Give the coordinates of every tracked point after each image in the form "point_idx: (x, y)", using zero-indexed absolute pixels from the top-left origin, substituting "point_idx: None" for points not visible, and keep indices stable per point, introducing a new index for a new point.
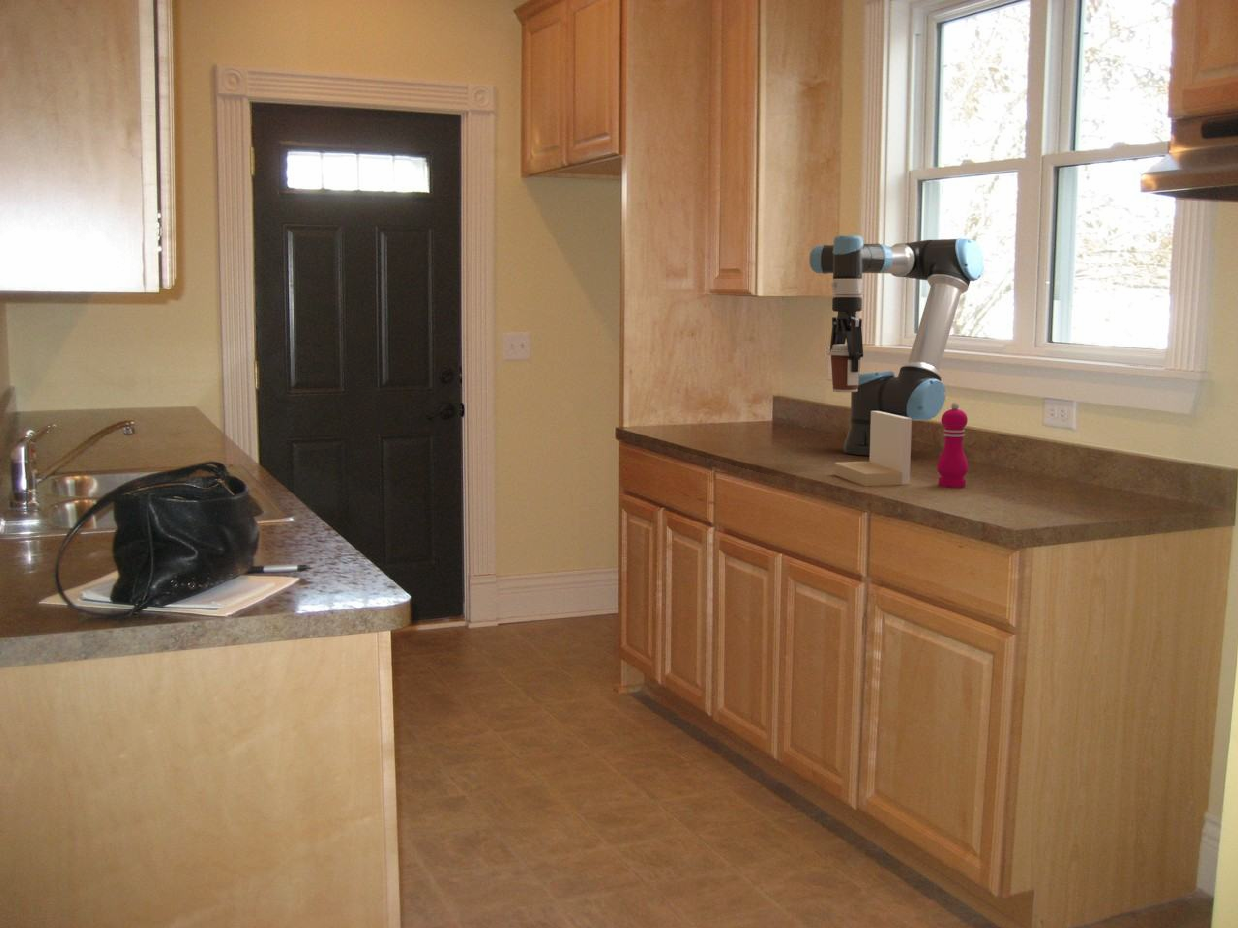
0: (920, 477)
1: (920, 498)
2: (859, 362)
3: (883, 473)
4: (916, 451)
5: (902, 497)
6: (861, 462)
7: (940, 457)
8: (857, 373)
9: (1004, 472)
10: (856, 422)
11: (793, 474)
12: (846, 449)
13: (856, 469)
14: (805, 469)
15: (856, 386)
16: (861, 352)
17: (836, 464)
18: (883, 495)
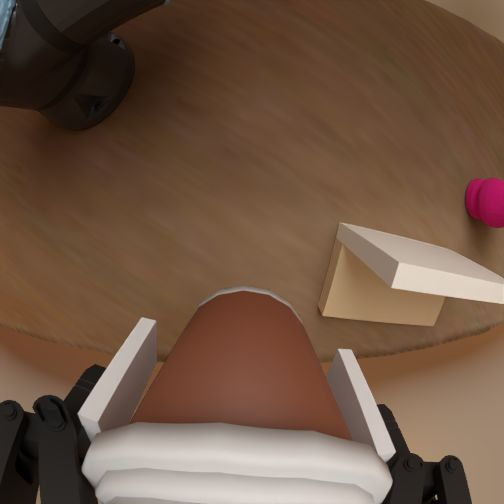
0: (410, 180)
1: None
2: (335, 413)
3: (444, 298)
4: None
5: (484, 313)
6: (343, 265)
7: (499, 224)
8: (366, 393)
9: (404, 24)
10: (50, 105)
11: None
12: (74, 129)
13: (400, 318)
14: None
15: (301, 326)
16: (458, 481)
17: (331, 316)
18: (468, 326)
